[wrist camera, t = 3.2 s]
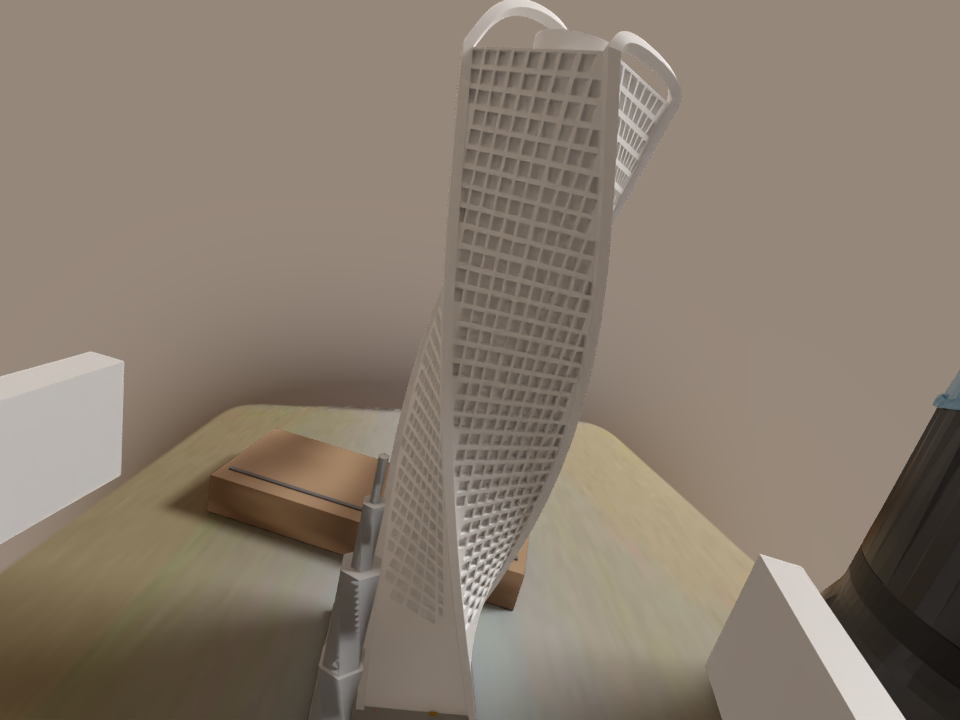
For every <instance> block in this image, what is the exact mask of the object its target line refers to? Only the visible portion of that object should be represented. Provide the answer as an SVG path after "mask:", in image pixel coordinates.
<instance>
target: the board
mask: <svg viewBox="0 0 960 720" xmlns="http://www.w3.org/2000/svg"><path fill="white" fill-rule="evenodd" d="M377 463H378V459H375V458H372V457H369V456H365V455H362V454H359V453H356V452H352V451H349V450H346V449H343V448H339V447H336V446H333V445H330V444H326V443H323V442H320V441H317V440H313V439H310V438H307V437H304V436H300V435H297V434H294V433H290V432H287V431H284V430H281V429H277V428H275V429H274V430H272V431H271V432H270V433H268V434H267V435H265V436H264V437H263V438H261V439H260V440H258V441H257V442H256V443H254V444H253V445H251V446H250V447H249V448H247V449H246V450H244V451H243V452H242V453H240V454H239V455H237V456H236V457H235V458H233V459H232V460H230V461H229V462H228V463H226V464H225V465H223V466H222V467H221V468H219V469H218V470H216V471H215V472H214V473H212V474H211V475H210V486H209V497H208V508H207V511H210V512H213V513H216V514H219V515H222V516H225V517H228V518H232V519H235V520H238V521H241V522H244V523H247V524H250V525H253V526H256V527H259V528H262V529H265V530H268V531H271V532H274V533H277V534H281V535H284V536H287V537H290V538H293V539H296V540H299V541H302V542H305V543H308V544H311V545H314V546H317V547H320V548H323V549H326V550H330V551H333V552H336V553H339V554H342V555H344V554H346V553H350V552H354V547H355V542H356V537H357V532H358V527H359V522H360V517H361V512H362V507H363V502H364V497H365V496H369V495H371V493H372V488H373V483H374V478H375V473H376V468H377ZM389 466H390V463H388V464H387V469H386V474H385V478H384V483H383V488H382V492H381V497H382V498H384V493H385V487H386V482H387V477H388V471H389ZM528 541H529V535H528V537H527V539H526V541H525V542H524V544H523V546H522V547H521V549H520V551H519V552H518V554H517V556H516V557H515V559H514V560H513V562H512V563H511V565H510V566H509V568H508V570H507V571H506V573H505V574H504V576H503V577H502V579H501V580H500V582H499V583H498V585H497V586H496V587H495V589H494V590H493V592H492V593H491V594H490V596H489V597H488V599H487V600H486V602H489V603H492V604H495V605H498V606H501V607H504V608H507V609H510V610H513V609H514V606H515V603H516V600H517V596H518V593H519V590H520V587H521V584H522V581H523V578H524V575H525V566H526V558H527V549H528Z"/></svg>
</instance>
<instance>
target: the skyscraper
mask: <svg viewBox="0 0 960 720" xmlns="http://www.w3.org/2000/svg"><path fill="white" fill-rule="evenodd" d="M509 16H523V17H527V18H531V19H533V20H535V21H538V22H540V23H542V24H543V25H545V26H546V27H548V28H549V29H546V30H542V31H539V32H538V33H537V34H536V36H535V40H534V44H533V48H531V49H530V48H500V47H475V46H476V45H477V43H478V42H479V40H480V39H481V38H482V37H483V36H484V34H485V33H486V32H487V31H488V30H489V29H490V28H491V27H492V26H493V25H494V24H495V23H497V22H498V21H500V20H501V19H503V18H506V17H509ZM621 52H624V53H628V54H630V55H632V56H634V57H636V58H637V59H639V60H640V61H641V62H643V63H644V64H645V65H646V66H648V67H649V68H650V69H652V70H653V71H654V72H655V73H656V74H657V75H658V76H659V77H660V78H661V79H662V81H663V82H664V83H665V85H666V86H667V88H668V98H667V102H666V101H665V100H664V99H663V98H662V97H661V96H660V95H659V94H658V93H657V92H655V91H654V90H653V89H652V88H651V87H650V86H649V85H648V84H647V83H646V82H645V81H644V80H643V79H641V78H640V77H639V76H638V75H637V74H636V73H635V72H634V71H633V70H632V69H631V68H630V67H628V66H627V65H626V64H625V63H624V62H623V61H622V60H621ZM681 98H682V91H681V87H680V85H679V82H678V80H677V78H676V76H675V74H674V72H673V71H672V69H671V67H670V66H669V65H668V63H666V61H665V60H664V59H663V58H662V56H661V55H660V54H659V53H658V52H657V51H656V50H654V49H653V48H652V47H651V46H650V45H649V44H648V43H647V42H645V41H644V40H643V39H642V38H640V37H638V36H637V35H635V34H633V33H631V32H628V31H622V32H619V33H618V34H616V36H615V37H614V38H613V39H612V40H611V41H610V42H607V41H605V40H603V39H601V38H598V37H596V36H593V35H590V34H587V33H583V32H579V31H573V30H567V28H566V27H565V25H564V24H563V23H562V21H561V20H560V19H559V18H558V17H557V16H556V15H554V14H553V13H552V12H551V11H550V10H548V9H546V8H545V7H543V6H542V5H540V4H537V3H535V2H533V1H530V0H504V1H501V2H499V3H497V4H496V5H494V6H493V7H491V8H490V9H489V10H488V11H487V12H486V13H485V14H484V15H483V16H482V17H481V18H480V19H479V21H478V22H477V23H476V25H475V26H474V27H473V28H472V29H471V31H470V32H469V34H468V35H467V37H466V38H465V39H464V41H463V44H462V47H461V56H460V66H459V77H458V88H457V98H456V108H455V119H454V131H453V143H452V155H451V166H450V178H449V192H448V203H447V218H446V233H445V247H444V264H443V285H442V287H441V290H440V293H439V295H438V297H437V300H436V302H435V305H434V307H433V310H432V313H431V316H430V318H429V321H428V324H427V327H426V330H425V333H424V335H423V338H422V341H421V344H420V347H419V351H418V354H417V357H416V360H415V364H414V367H413V371H412V374H411V377H410V381H409V384H408V388H407V392H406V396H405V399H404V403H403V408H402V411H401V415H400V419H399V424H398V428H397V433H396V437H395V441H394V446H393V451H392V455H391V460H390V466H389V471H388V477H387V482H386V487H385V493H384V498H382V497H381V492H382V488H383V483H384V478H385V474H386V469H387V464H388V459H389V455H387V454H385V453H384V454H379V458H378V463H377V468H376V473H375V478H374V483H373V488H372V493H371V495H369V496H365V497H364V502H363V507H362V512H361V517H360V522H359V527H358V532H357V537H356V542H355V547H354V552H350V553H346V554H344V556H343V561H342V565H341V569H340V577H339V582H338V587H337V593H336V598H335V603H334V605H333V609H332V613H331V618H330V622H329V627H328V631H327V635H326V640H325V644H324V645H323V648H322V653H321V657H320V662H319V666H318V668H319V669H318V675H317V679H316V683H315V688H314V692H313V696H312V701H311V705H310V710H309V714H308V718H307V720H477V718H476V707H475V696H474V685H473V673H472V662H471V659H472V650H473V643H474V637H475V632H476V628H477V623H478V620H479V616H480V613H481V610H482V607H483V605H484V603H485V601H486V600H487V599H488V597H489V596H490V594H491V593H492V592H493V590H494V589H495V587H496V586H497V585H498V583H499V582H500V580H501V579H502V577H503V576H504V574H505V573H506V571H507V570H508V568H509V566H510V565H511V563H512V562H513V560H514V559H515V557H516V556H517V554H518V552H519V551H520V549H521V547H522V546H523V544H524V542H525V541H526V539H527V537H528V535H529V534H530V532H531V530H532V529H533V527H534V525H535V523H536V521H537V519H538V517H539V515H540V513H541V511H542V509H543V508H544V506H545V504H546V502H547V500H548V498H549V495H550V493H551V491H552V489H553V487H554V484H555V482H556V480H557V478H558V475H559V473H560V471H561V469H562V466H563V463H564V461H565V458H566V455H567V453H568V450H569V448H570V445H571V442H572V440H573V437H574V434H575V431H576V427H577V424H578V421H579V418H580V415H581V411H582V408H583V405H584V402H585V397H586V393H587V389H588V385H589V381H590V377H591V373H592V369H593V365H594V359H595V354H596V349H597V343H598V338H599V331H600V327H601V320H602V313H603V306H604V298H605V290H606V282H607V274H608V264H609V253H610V241H611V230H612V225H613V223H614V222H615V220H616V218H617V216H618V215H619V213H620V211H621V209H622V207H623V206H624V204H625V202H626V200H627V199H628V197H629V195H630V193H631V192H632V190H633V188H634V186H635V184H636V183H637V181H638V179H639V177H640V176H641V174H642V172H643V170H644V168H645V167H646V165H647V163H648V161H649V159H650V158H651V156H652V154H653V152H654V151H655V149H656V147H657V145H658V143H659V142H660V140H661V138H662V136H663V135H664V133H665V131H666V129H667V127H668V125H669V124H670V122H671V120H672V118H673V117H674V115H675V113H676V111H677V110H678V107H679V105H680V102H681Z"/></svg>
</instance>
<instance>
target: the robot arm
mask: <svg viewBox="0 0 960 720" xmlns="http://www.w3.org/2000/svg"><path fill="white" fill-rule="evenodd" d="M123 385H124V361H121V360H118V359H115V358H112V357H108V356H105V355H102V354H98V353H95V352H92V351H91V352H87V353H84V354H80V355H76V356H73V357H69V358H66V359H62V360H58V361H55V362H51V363H48V364H44V365H40V366H36V367H33V368H29V369H26V370H22V371H19V372H15V373H11V374H8V375H4V376H0V544H1V543H3V542H5V541H6V540H8V539H10V538H12V537H13V536H15V535H17V534H19V533H20V532H22V531H24V530H26V529H27V528H29V527H31V526H33V525H34V524H36V523H38V522H40V521H41V520H43V519H45V518H47V517H48V516H50V515H52V514H54V513H55V512H57V511H59V510H61V509H62V508H64V507H66V506H68V505H69V504H71V503H73V502H75V501H76V500H78V499H80V498H82V497H83V496H85V495H87V494H89V493H90V492H92V491H94V490H96V489H97V488H99V487H101V486H103V485H104V484H106V483H108V482H110V481H111V480H113V479H115V478H117V477H118V476H120V475H121V449H122V419H123V418H122V417H123ZM933 405H934V406H936V407H937V409H936V411H935V413H934V415H933V417H932V418H931V420H930V422H929V424H928V425H927V427H926V429H925V431H924V433H923V435H922V437H921V438H920V440H919V442H918V444H917V446H916V447H915V449H914V451H913V453H912V454H911V456H910V458H909V460H908V462H907V464H906V465H905V467H904V469H903V471H902V473H901V474H900V476H899V478H898V480H897V482H896V484H895V485H894V487H893V489H892V491H891V493H890V494H889V496H888V498H887V500H886V502H885V503H884V505H883V507H882V509H881V511H880V512H879V514H878V516H877V518H876V519H875V521H874V523H873V524H872V526H871V528H870V530H869V531H868V533H867V535H866V537H865V538H864V540H863V543H862V544H861V546H860V548H859V550H858V552H857V553H856V555H855V557H854V559H853V560H852V562H851V564H850V565H849V567H848V569H847V571H846V572H845V574H844V575H843V576H842V577H841V578H840V579H838V580H837V581H836V582H834V583H833V584H832V585H830V586H829V587H828V588H826V589H825V590H823V591H822V592H821V593H819V592H818V590H817V589H816V587H815V586H814V584H813V583H812V581H811V580H810V578H809V577H808V575H807V574H806V572H805V571H804V569H803V568H802V567H800V566H798V565H794V564H791V563H788V562H784V561H781V560H778V559H775V558H771V557H768V556H765V555H761V554H759V557H758V559H757V560H756V562H755V565H754V567H753V569H752V571H751V573H750V575H749V577H748V579H747V581H746V583H745V585H744V587H743V589H742V591H741V593H740V595H739V597H738V599H737V601H736V603H735V605H734V607H733V609H732V612H731V614H730V616H729V618H728V620H727V622H726V624H725V626H724V628H723V630H722V632H721V634H720V636H719V638H718V640H717V642H716V644H715V646H714V648H713V650H712V652H711V654H710V656H709V658H708V661H707V663H706V665H705V667H706V670H707V673H708V676H709V679H710V683H711V686H712V689H713V692H714V695H715V699H716V702H717V705H718V708H719V711H720V715H721V718H722V720H960V370H959V372H958V374H957V375H956V377H955V378H954V380H953V381H952V383H951V384H950V386H949V387H948V389H947V390H946V392H945V393H943V394H940V395H938V396H937V397H936V399H935V401H934V403H933Z"/></svg>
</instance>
